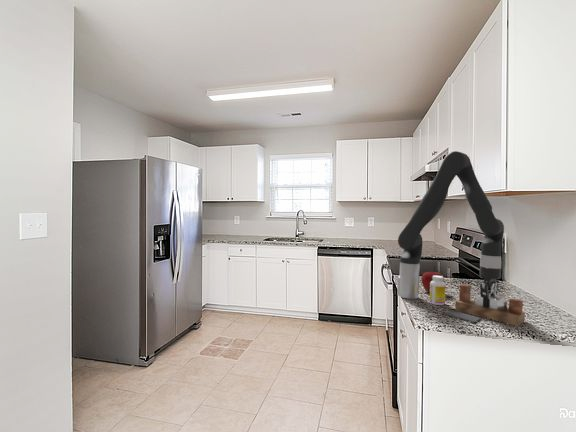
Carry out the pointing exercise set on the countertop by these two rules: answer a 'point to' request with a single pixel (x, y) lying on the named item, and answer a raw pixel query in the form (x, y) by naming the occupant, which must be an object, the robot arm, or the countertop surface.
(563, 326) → the countertop surface
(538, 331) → the countertop surface
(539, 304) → the countertop surface
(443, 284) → the supplement bottle
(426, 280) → the apple
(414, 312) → the countertop surface
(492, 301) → the lever cap
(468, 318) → the rubber mat
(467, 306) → the plane body
